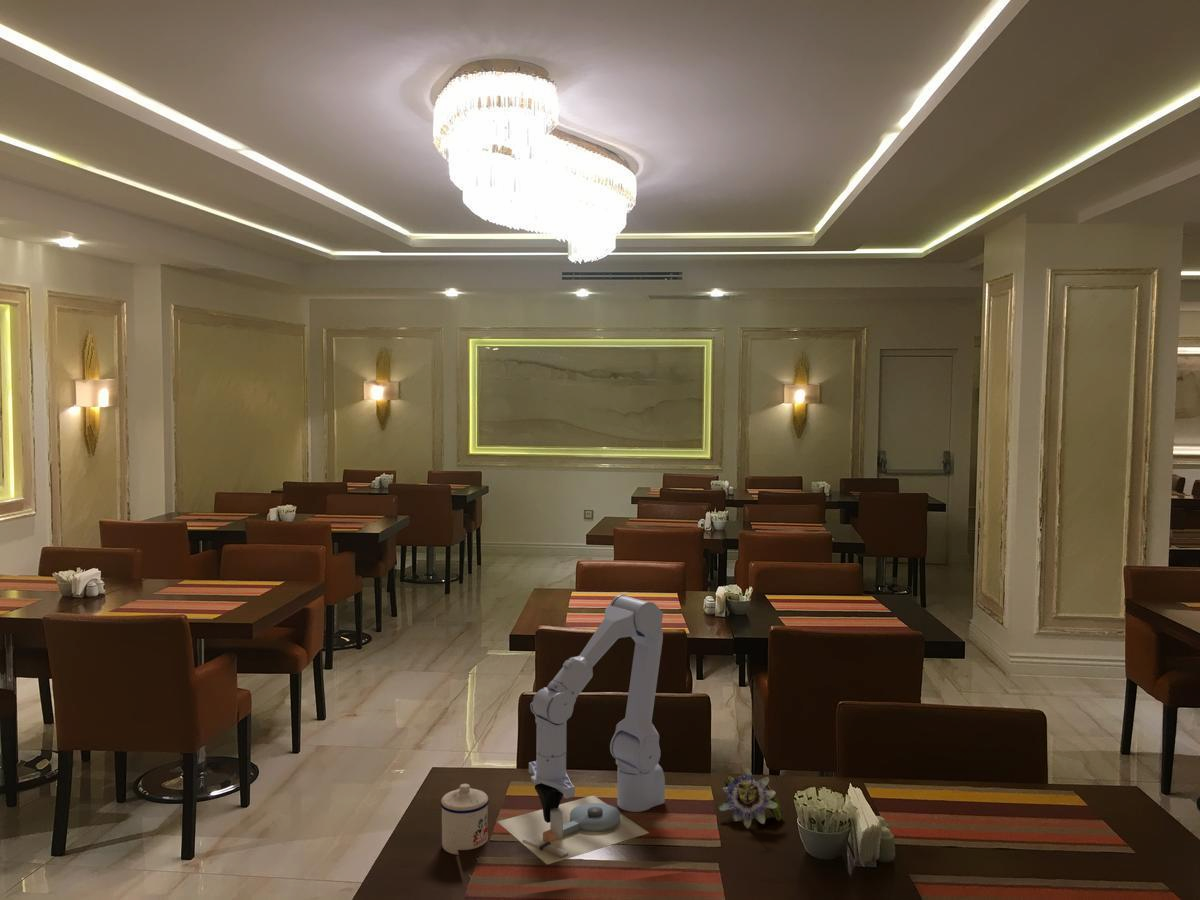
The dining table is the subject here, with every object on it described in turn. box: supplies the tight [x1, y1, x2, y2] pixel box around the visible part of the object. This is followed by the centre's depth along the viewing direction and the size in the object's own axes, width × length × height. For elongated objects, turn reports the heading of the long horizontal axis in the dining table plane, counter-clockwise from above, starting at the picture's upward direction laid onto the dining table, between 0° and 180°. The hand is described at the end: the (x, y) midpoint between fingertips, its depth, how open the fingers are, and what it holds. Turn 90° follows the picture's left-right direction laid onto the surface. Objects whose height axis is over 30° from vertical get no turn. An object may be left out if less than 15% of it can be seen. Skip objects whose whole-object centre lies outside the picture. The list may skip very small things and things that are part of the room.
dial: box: [543, 803, 621, 842], centre depth 186 cm, size 18×10×5 cm, turn 133°
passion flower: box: [717, 768, 783, 830], centre depth 192 cm, size 11×11×12 cm
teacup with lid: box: [439, 783, 490, 856], centre depth 182 cm, size 12×9×12 cm
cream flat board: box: [496, 795, 650, 865], centre depth 186 cm, size 23×20×2 cm
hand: (550, 820), depth 183 cm, fingers closed
